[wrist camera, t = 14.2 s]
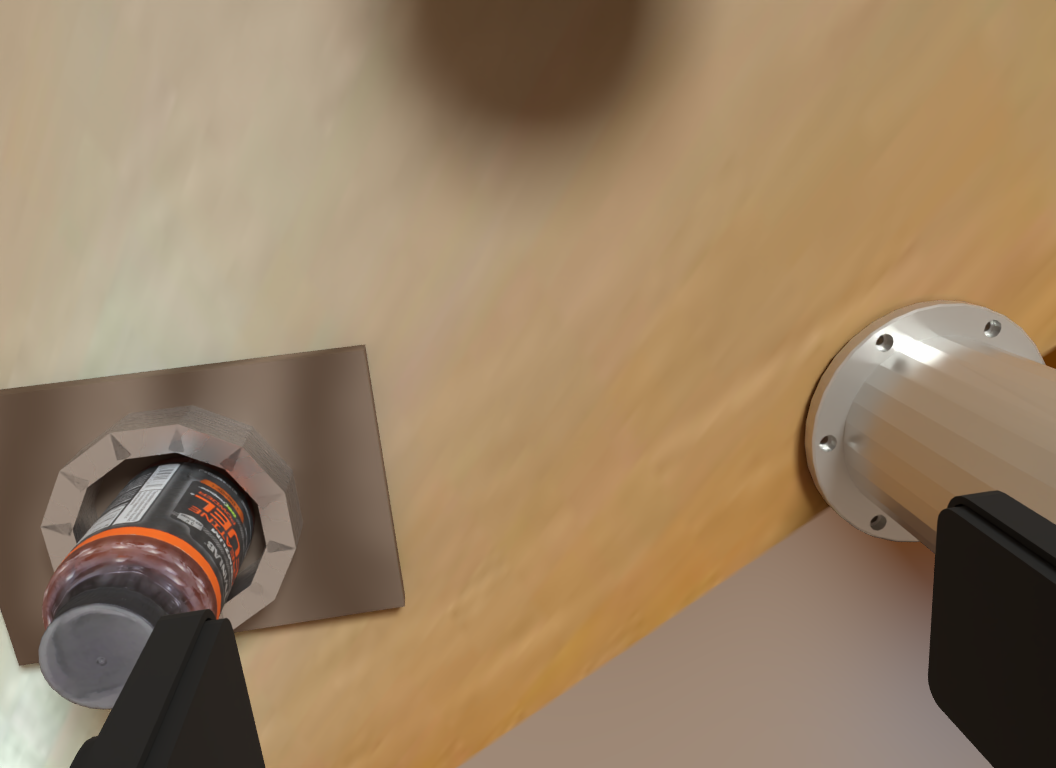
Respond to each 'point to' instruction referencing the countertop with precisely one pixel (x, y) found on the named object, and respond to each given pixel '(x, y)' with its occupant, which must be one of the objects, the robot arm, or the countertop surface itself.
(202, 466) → the supplement bottle
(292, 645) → the countertop surface
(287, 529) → the steel collar
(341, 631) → the countertop surface
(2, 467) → the holder board
